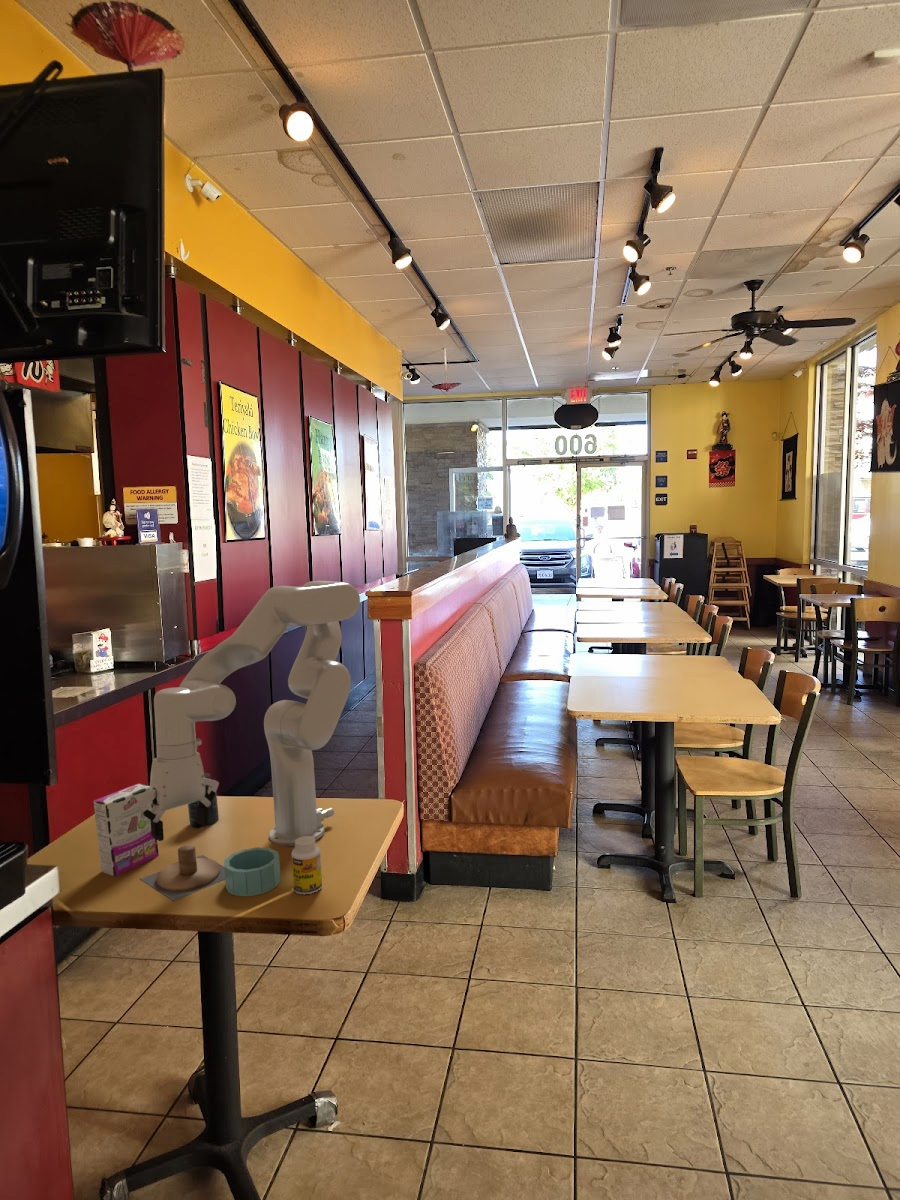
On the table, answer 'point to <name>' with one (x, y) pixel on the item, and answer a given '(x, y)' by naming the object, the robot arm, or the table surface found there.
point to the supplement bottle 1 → (212, 809)
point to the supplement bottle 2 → (306, 866)
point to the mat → (179, 894)
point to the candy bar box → (124, 830)
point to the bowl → (252, 871)
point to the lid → (188, 871)
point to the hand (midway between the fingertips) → (181, 831)
